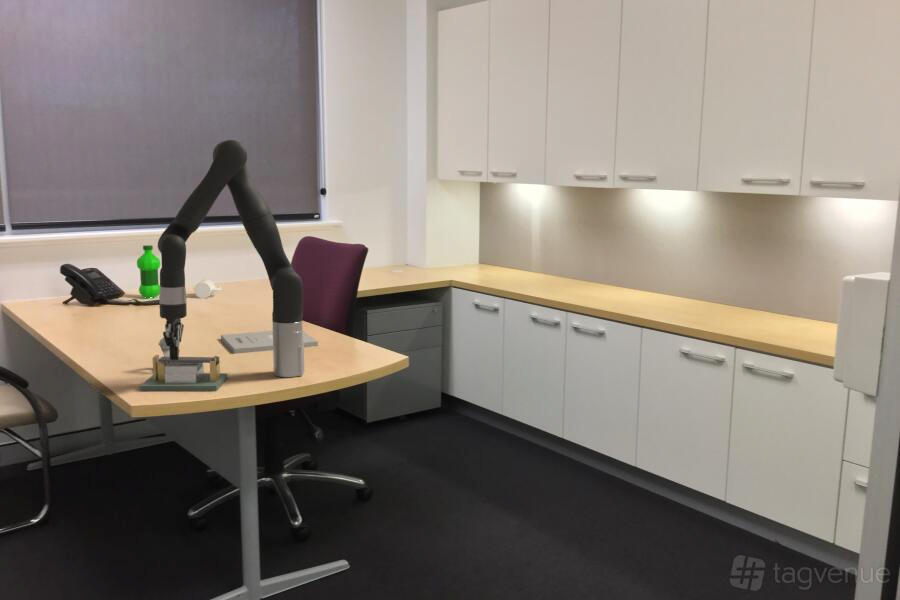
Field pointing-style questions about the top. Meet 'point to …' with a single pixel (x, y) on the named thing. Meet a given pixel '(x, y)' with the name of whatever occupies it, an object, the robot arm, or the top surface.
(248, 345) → the award plaque
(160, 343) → the watch
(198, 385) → the board
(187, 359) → the strap
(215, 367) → the clip posts
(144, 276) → the plastic bottle
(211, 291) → the mug
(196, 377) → the heat sink
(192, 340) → the top surface
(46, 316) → the top surface
